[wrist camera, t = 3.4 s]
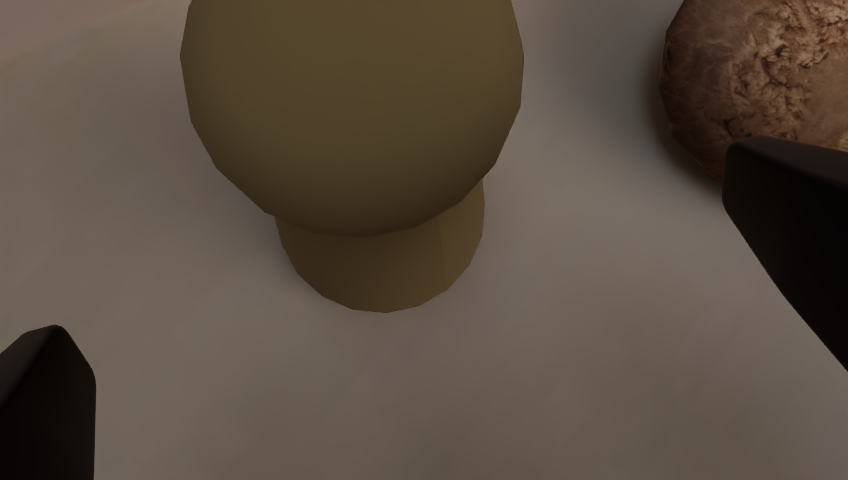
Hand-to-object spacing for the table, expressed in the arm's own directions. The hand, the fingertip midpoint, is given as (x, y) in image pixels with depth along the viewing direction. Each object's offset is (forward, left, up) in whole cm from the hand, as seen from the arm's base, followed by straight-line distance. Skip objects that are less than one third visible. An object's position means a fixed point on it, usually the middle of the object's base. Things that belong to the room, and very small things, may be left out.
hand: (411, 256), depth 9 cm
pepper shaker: (+3, -2, -10) cm, 11 cm away
